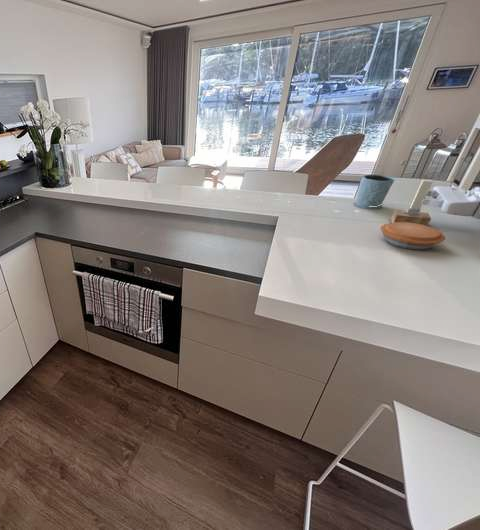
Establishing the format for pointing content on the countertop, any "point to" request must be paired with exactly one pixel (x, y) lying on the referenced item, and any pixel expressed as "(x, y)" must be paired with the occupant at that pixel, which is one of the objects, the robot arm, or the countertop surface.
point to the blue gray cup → (373, 190)
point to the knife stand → (411, 217)
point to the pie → (411, 235)
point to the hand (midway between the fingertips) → (419, 197)
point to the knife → (419, 197)
